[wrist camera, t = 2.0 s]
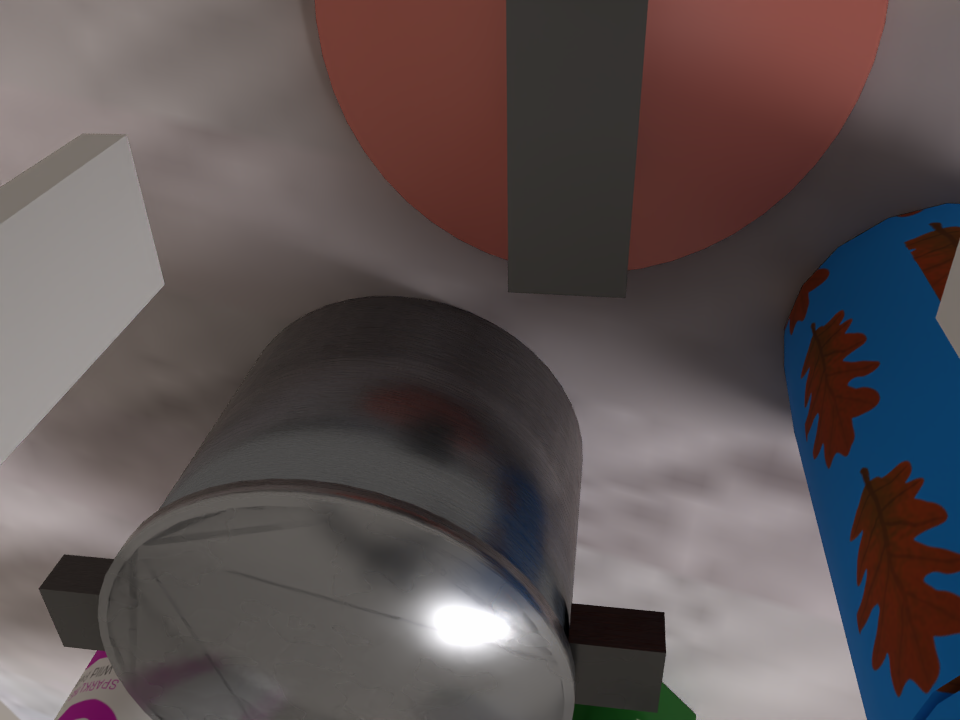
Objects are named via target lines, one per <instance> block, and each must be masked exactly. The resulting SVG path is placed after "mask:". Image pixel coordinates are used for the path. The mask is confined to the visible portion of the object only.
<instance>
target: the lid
mask: <svg viewBox="0 0 960 720" xmlns="http://www.w3.org/2000/svg"><path fill="white" fill-rule="evenodd" d="M887 7H888V0H315V10H316V22H317V27H318V33H319V38H320V44H321V49H322V55H323V59H324V62H325V65H326V68H327V72H328V75H329V78H330V81H331V85H332V88H333V91H334V93H335V96H336V98H337V100H338V102H339V105H340V107H341V109H342V111H343V114H344V116H345V118H346V121H347V123H348V124H349V126H350V128H351V130H352V131H353V133H354V135H355V136H356V138H357V140H358V141H359V143H360V145H361V147H362V148H363V150H364V152H365V153H366V154H367V156H368V157H369V158H370V160H371V161H372V162H373V164H374V165H375V166H376V168H377V169H378V170H379V171H380V173H381V174H382V175H383V177H384V178H385V179H386V180H387V181H388V182H389V183H390V184H391V185H392V186H393V187H394V189H395V190H396V191H397V192H398V193H399V194H400V195H401V196H402V197H403V198H404V199H405V200H406V201H407V202H408V203H409V204H411V205H412V206H413V207H414V208H415V209H417V210H418V211H419V212H420V213H422V214H423V215H424V216H425V217H426V218H428V219H429V220H430V221H431V222H433V223H434V224H436V225H437V226H439V227H440V228H442V229H444V230H445V231H447V232H448V233H450V234H451V235H453V236H454V237H456V238H458V239H459V240H461V241H463V242H465V243H467V244H470V245H472V246H474V247H476V248H478V249H480V250H482V251H484V252H486V253H489V254H491V255H494V256H497V257H500V258H503V259H506V260H508V292H514V293H534V294H555V295H575V296H596V297H616V298H626V285H627V272H628V270H635V269H642V268H646V267H650V266H654V265H658V264H662V263H666V262H670V261H674V260H676V259H679V258H682V257H684V256H687V255H690V254H692V253H695V252H698V251H700V250H703V249H705V248H707V247H709V246H711V245H713V244H715V243H717V242H719V241H721V240H723V239H725V238H727V237H729V236H731V235H732V234H734V233H736V232H737V231H739V230H740V229H742V228H743V227H745V226H746V225H748V224H749V223H751V222H752V221H754V220H755V219H757V218H758V217H760V216H761V215H763V214H764V213H765V212H767V211H768V210H769V209H770V208H771V207H773V206H774V205H775V204H776V203H777V202H778V201H780V200H781V199H782V198H783V197H784V196H786V195H787V194H788V193H789V192H790V191H791V190H792V189H793V188H794V187H795V186H796V185H797V184H798V183H799V182H800V181H801V180H802V179H803V178H804V176H805V175H806V174H807V173H808V172H809V171H810V170H811V169H812V168H813V167H814V166H815V165H816V164H817V162H818V161H819V159H820V158H821V157H822V155H823V154H824V153H825V151H826V150H827V149H828V147H829V146H830V145H831V143H832V142H833V141H834V139H835V138H836V137H837V135H838V134H839V132H840V130H841V129H842V127H843V125H844V123H845V122H846V120H847V118H848V116H849V115H850V113H851V111H852V109H853V108H854V106H855V104H856V102H857V101H858V99H859V96H860V94H861V92H862V89H863V87H864V85H865V82H866V80H867V77H868V75H869V73H870V70H871V68H872V66H873V63H874V60H875V57H876V53H877V50H878V46H879V43H880V39H881V35H882V32H883V28H884V25H885V20H886V13H887Z"/></svg>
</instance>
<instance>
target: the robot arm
mask: <svg viewBox="0 0 960 720" xmlns="http://www.w3.org/2000/svg"><path fill="white" fill-rule="evenodd" d="M164 285H165V283H164V279H163V275H162V271H161V267H160V263H159V259H158V255H157V252H156V248H155V244H154V240H153V236H152V232H151V228H150V224H149V220H148V216H147V212H146V208H145V204H144V200H143V196H142V192H141V189H140V185H139V181H138V177H137V173H136V169H135V165H134V161H133V157H132V153H131V149H130V145H129V141H128V137H127V135H121V134H82V135H80V136H78V137H77V138H75V139H74V140H72V141H71V142H69V143H68V144H66V145H65V146H63V147H61V148H60V149H58V150H57V151H55V152H54V153H52V154H51V155H49V156H48V157H46V158H45V159H43V160H41V161H40V162H38V163H37V164H35V165H34V166H32V167H31V168H29V169H28V170H26V171H25V172H23V173H21V174H20V175H18V176H17V177H15V178H14V179H12V180H11V181H9V182H8V183H6V184H4V185H3V186H1V187H0V465H1V464H2V463H3V462H4V461H5V460H6V459H7V457H8V456H9V455H10V454H11V453H12V452H13V451H14V450H15V449H16V448H17V446H18V445H19V444H20V443H21V442H22V441H23V440H24V439H25V438H26V437H27V435H28V434H29V433H30V432H31V431H32V430H33V429H34V428H35V427H36V426H37V424H38V423H39V422H40V421H41V420H42V419H43V418H44V417H45V416H46V415H47V414H48V412H49V411H50V410H51V409H52V408H53V407H54V406H55V405H56V404H57V403H58V401H59V400H60V399H61V398H62V397H63V396H64V395H65V394H66V393H67V392H68V390H69V389H70V388H71V387H72V386H73V385H74V384H75V383H76V382H77V381H78V379H79V378H80V377H81V376H82V375H83V374H84V373H85V372H86V371H87V370H88V368H89V367H90V366H91V365H92V364H93V363H94V362H95V361H96V360H97V359H98V357H99V356H100V355H101V354H102V353H103V352H104V351H105V350H106V349H107V348H108V346H109V345H110V344H111V343H112V342H113V341H114V340H115V339H116V338H117V337H118V336H119V334H120V333H121V332H122V331H123V330H124V329H125V328H126V327H127V326H128V325H129V323H130V322H131V321H132V320H133V319H134V318H135V317H136V316H137V315H138V314H139V312H140V311H141V310H142V309H143V308H144V307H145V306H146V305H147V304H148V303H149V301H150V300H151V299H152V298H153V297H154V296H155V295H156V294H157V293H158V292H159V290H160V289H161V288H162V287H163V286H164ZM936 320H937V321H938V323H939V325H940V326H941V328H942V330H943V331H944V333H945V335H946V336H947V338H948V340H949V342H950V343H951V345H952V347H953V348H954V350H955V352H956V353H957V355H958V357H959V358H960V240H959V243H958V246H957V250H956V253H955V256H954V259H953V263H952V266H951V269H950V273H949V276H948V279H947V282H946V286H945V289H944V292H943V295H942V299H941V302H940V305H939V309H938V312H937V315H936Z"/></svg>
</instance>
